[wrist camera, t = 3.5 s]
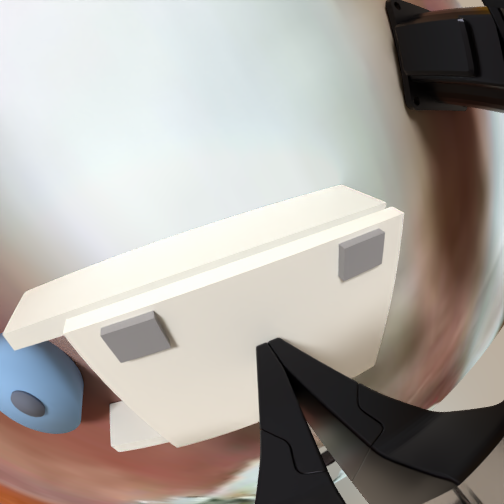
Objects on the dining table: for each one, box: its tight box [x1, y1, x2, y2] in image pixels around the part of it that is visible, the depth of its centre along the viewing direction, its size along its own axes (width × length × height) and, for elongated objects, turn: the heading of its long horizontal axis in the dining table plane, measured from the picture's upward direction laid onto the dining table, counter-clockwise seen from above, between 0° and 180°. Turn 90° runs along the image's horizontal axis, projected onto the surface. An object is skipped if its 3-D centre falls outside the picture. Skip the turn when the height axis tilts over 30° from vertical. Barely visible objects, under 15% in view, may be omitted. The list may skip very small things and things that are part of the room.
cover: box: [63, 207, 404, 448], centre depth 10 cm, size 11×9×1 cm
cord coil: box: [0, 333, 84, 434], centre depth 10 cm, size 6×6×3 cm
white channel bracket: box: [2, 184, 386, 452], centre depth 11 cm, size 15×9×3 cm, turn 102°
